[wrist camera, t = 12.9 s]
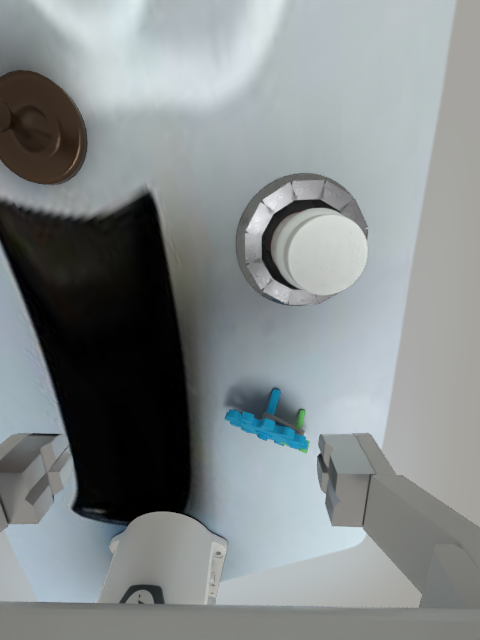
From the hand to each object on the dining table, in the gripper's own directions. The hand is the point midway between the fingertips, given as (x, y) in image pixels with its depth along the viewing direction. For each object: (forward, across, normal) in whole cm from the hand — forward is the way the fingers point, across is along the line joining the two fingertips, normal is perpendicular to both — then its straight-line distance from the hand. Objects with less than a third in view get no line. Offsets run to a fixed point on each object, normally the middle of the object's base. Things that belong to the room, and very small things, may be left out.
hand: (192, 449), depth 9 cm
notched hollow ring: (+23, +7, +6) cm, 25 cm away
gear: (+24, +4, -16) cm, 29 cm away
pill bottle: (+22, +7, +6) cm, 24 cm away
